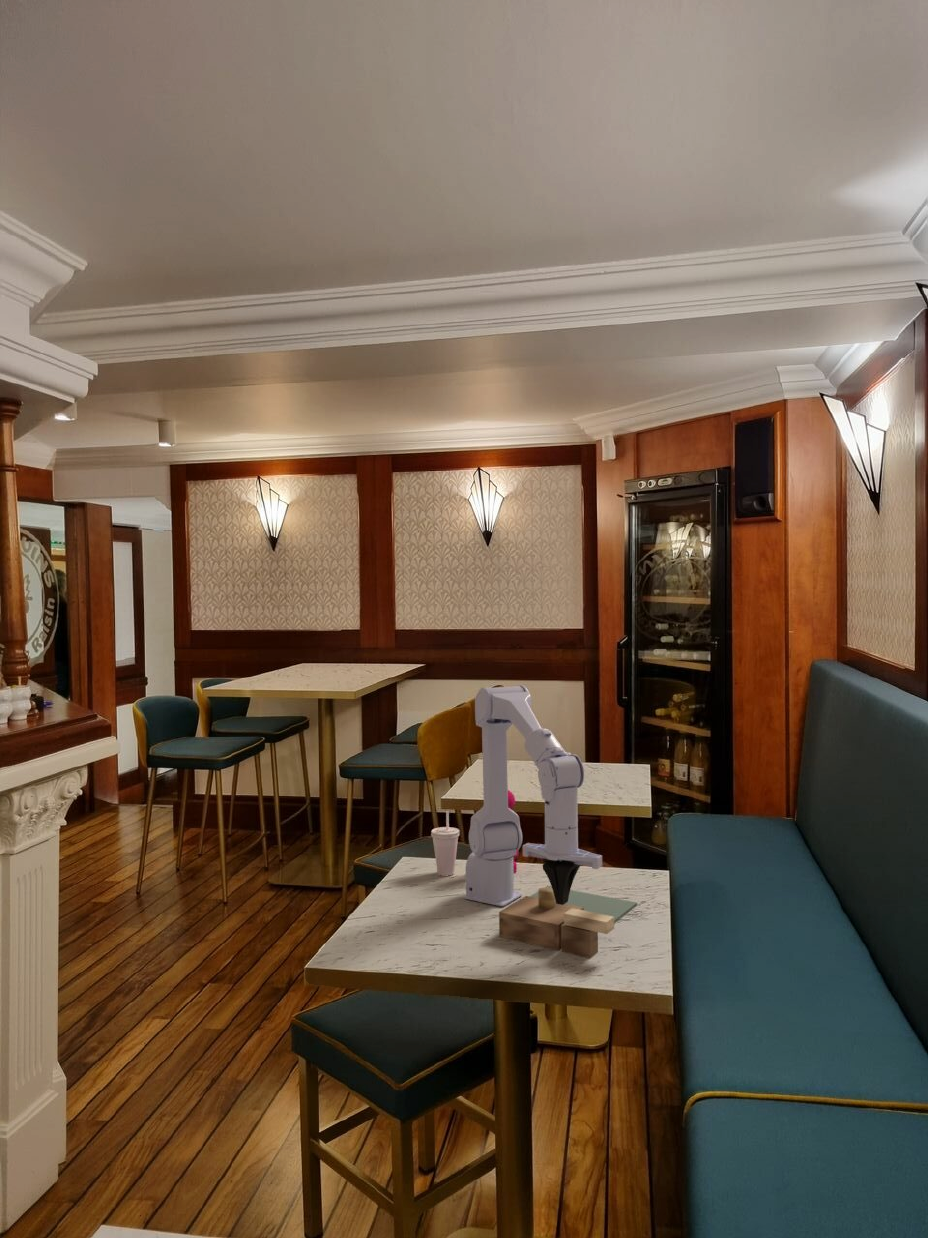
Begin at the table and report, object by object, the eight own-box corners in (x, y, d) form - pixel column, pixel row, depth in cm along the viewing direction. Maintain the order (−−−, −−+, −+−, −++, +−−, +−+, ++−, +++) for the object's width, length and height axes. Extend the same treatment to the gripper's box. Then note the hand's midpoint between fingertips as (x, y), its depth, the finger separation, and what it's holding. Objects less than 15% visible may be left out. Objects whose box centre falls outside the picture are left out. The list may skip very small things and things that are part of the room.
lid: (499, 917, 157) (498, 895, 157) (526, 901, 165) (526, 880, 165) (558, 930, 150) (558, 907, 150) (583, 912, 159) (583, 891, 158)
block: (564, 925, 150) (563, 913, 150) (571, 919, 152) (571, 908, 152) (607, 934, 145) (606, 922, 145) (614, 928, 148) (614, 916, 148)
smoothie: (456, 879, 190) (455, 815, 190) (428, 877, 191) (427, 814, 191) (462, 870, 196) (461, 808, 196) (435, 868, 198) (434, 807, 197)
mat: (514, 908, 171) (514, 905, 171) (547, 888, 183) (547, 885, 183) (608, 928, 160) (608, 925, 160) (637, 905, 172) (637, 902, 172)
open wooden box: (499, 936, 157) (499, 912, 157) (526, 919, 165) (526, 895, 165) (590, 958, 147) (590, 931, 147) (614, 938, 155) (614, 913, 155)
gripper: (513, 824, 152) (514, 901, 152) (589, 836, 144) (590, 918, 144) (533, 816, 158) (533, 890, 158) (607, 827, 150) (607, 905, 150)
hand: (562, 902), depth 151 cm, fingers closed
